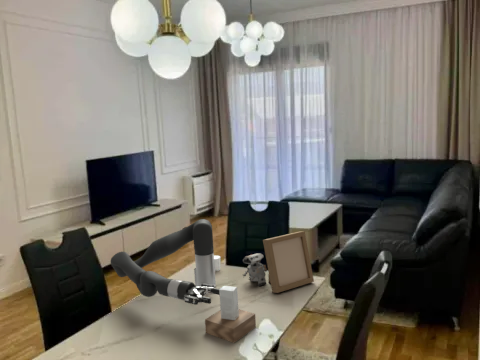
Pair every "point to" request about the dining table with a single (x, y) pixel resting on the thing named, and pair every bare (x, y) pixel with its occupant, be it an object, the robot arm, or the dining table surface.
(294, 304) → the dining table surface
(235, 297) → the skincare box
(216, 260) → the white round piece
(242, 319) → the walnut block
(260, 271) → the figurine
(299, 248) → the photo frame
